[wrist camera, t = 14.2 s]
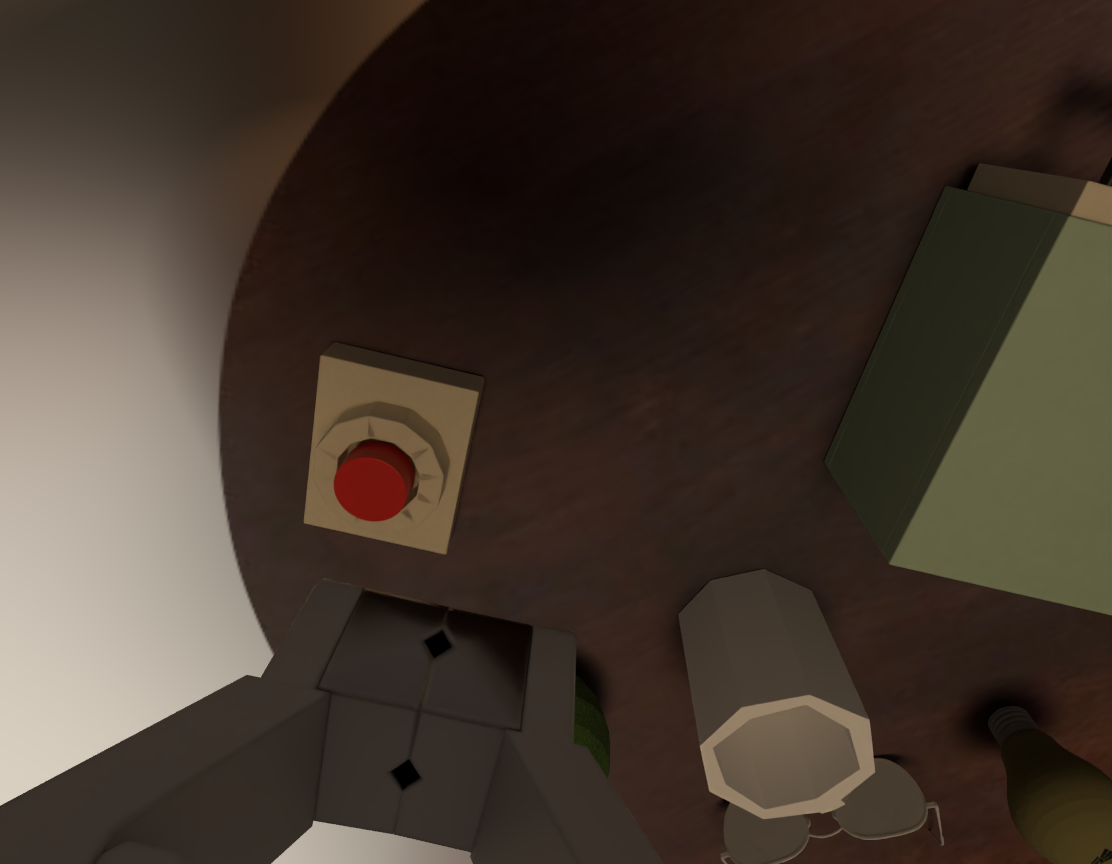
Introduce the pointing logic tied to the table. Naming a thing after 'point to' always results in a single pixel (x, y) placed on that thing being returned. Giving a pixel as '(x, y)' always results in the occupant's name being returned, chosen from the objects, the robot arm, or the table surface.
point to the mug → (772, 698)
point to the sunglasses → (868, 814)
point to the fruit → (591, 725)
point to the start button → (374, 481)
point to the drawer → (1048, 191)
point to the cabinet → (992, 406)
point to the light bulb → (1053, 793)
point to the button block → (393, 439)
